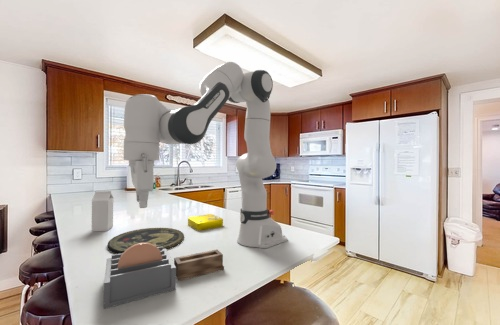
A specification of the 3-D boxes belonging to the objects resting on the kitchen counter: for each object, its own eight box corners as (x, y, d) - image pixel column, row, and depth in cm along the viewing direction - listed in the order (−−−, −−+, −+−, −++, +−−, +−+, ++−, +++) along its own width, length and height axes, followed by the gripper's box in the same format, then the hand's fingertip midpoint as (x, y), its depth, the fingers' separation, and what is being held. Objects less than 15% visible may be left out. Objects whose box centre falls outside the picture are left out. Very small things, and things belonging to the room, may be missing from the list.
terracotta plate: (161, 277, 65) (161, 239, 65) (162, 279, 64) (162, 241, 64) (117, 287, 60) (117, 246, 59) (117, 290, 58) (117, 248, 58)
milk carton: (108, 230, 110) (108, 192, 110) (91, 231, 108) (91, 192, 108) (113, 226, 117) (113, 190, 116) (97, 227, 115) (97, 190, 115)
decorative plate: (87, 247, 85) (140, 225, 115) (87, 252, 85) (140, 228, 115) (158, 255, 80) (195, 229, 109) (158, 260, 80) (195, 233, 109)
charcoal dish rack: (165, 266, 74) (165, 245, 74) (175, 289, 61) (176, 263, 61) (106, 279, 65) (106, 255, 65) (103, 308, 53) (104, 279, 53)
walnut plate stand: (215, 261, 78) (216, 248, 78) (223, 269, 72) (224, 255, 72) (173, 270, 71) (173, 256, 71) (178, 281, 65) (178, 265, 65)
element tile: (211, 220, 132) (211, 212, 132) (224, 227, 120) (224, 218, 120) (186, 225, 123) (186, 216, 123) (198, 232, 111) (198, 222, 111)
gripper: (160, 153, 54) (159, 210, 54) (150, 154, 72) (149, 198, 72) (130, 152, 51) (130, 213, 51) (127, 154, 69) (127, 199, 69)
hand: (141, 204), depth 62 cm, fingers open, 8 cm apart
